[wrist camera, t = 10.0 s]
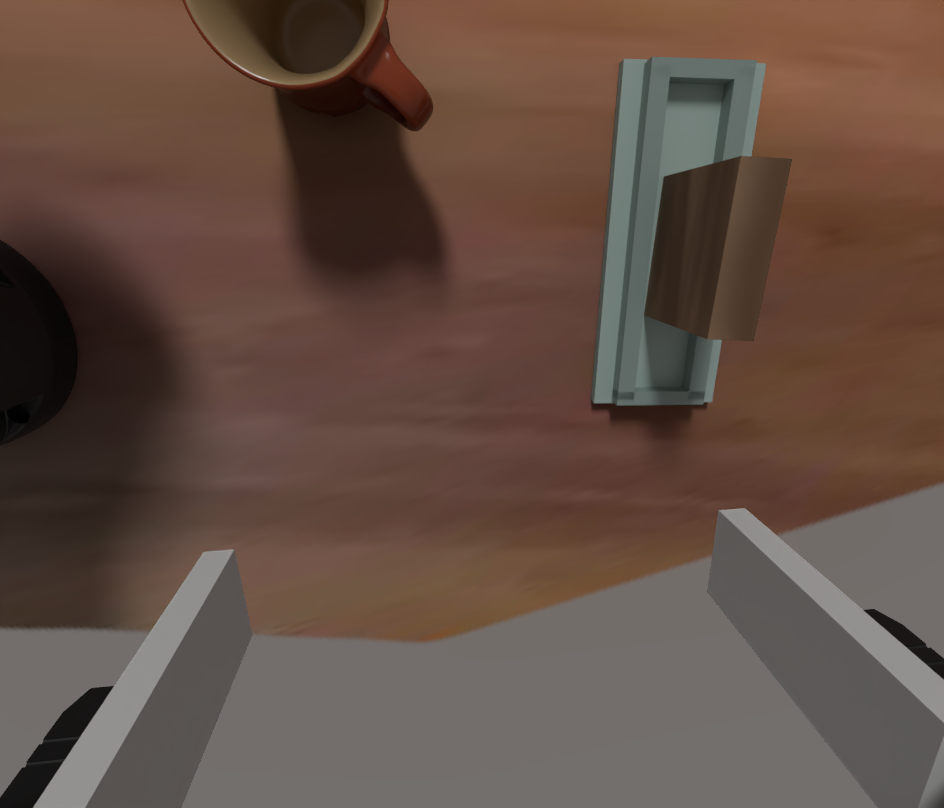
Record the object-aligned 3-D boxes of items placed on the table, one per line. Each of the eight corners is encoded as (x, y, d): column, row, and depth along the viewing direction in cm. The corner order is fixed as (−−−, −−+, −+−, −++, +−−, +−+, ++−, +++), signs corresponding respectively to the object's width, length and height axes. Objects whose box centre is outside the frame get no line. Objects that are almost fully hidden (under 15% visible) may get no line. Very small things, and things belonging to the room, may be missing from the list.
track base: (590, 400, 39) (598, 408, 37) (619, 62, 32) (631, 52, 30) (706, 398, 39) (720, 407, 38) (758, 67, 33) (778, 57, 31)
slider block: (643, 315, 36) (707, 339, 28) (663, 176, 34) (741, 156, 25) (679, 316, 37) (753, 340, 28) (702, 178, 34) (792, 158, 25)
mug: (225, 58, 31) (128, -25, 21) (313, -75, 29) (251, -233, 19) (385, 200, 34) (365, 186, 24) (473, 87, 32) (490, 22, 22)
